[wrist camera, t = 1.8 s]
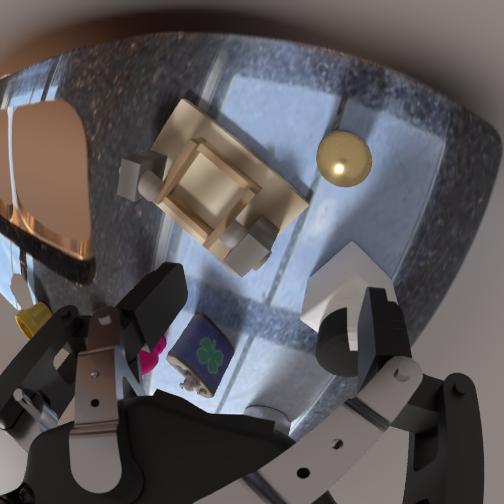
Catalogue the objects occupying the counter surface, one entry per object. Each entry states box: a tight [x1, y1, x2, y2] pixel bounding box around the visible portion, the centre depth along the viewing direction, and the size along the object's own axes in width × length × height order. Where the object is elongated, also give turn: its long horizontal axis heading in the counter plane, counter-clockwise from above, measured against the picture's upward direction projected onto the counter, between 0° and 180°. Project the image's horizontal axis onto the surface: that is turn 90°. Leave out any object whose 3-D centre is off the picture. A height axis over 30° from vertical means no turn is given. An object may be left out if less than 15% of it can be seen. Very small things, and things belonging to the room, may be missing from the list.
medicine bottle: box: [301, 241, 398, 377], centre depth 24 cm, size 7×7×12 cm
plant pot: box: [15, 302, 53, 340], centre depth 54 cm, size 10×10×10 cm
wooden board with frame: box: [118, 99, 310, 277], centre depth 26 cm, size 17×12×6 cm
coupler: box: [316, 130, 372, 187], centre depth 20 cm, size 4×4×7 cm
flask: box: [167, 313, 234, 398], centre depth 35 cm, size 9×3×11 cm, turn 32°
